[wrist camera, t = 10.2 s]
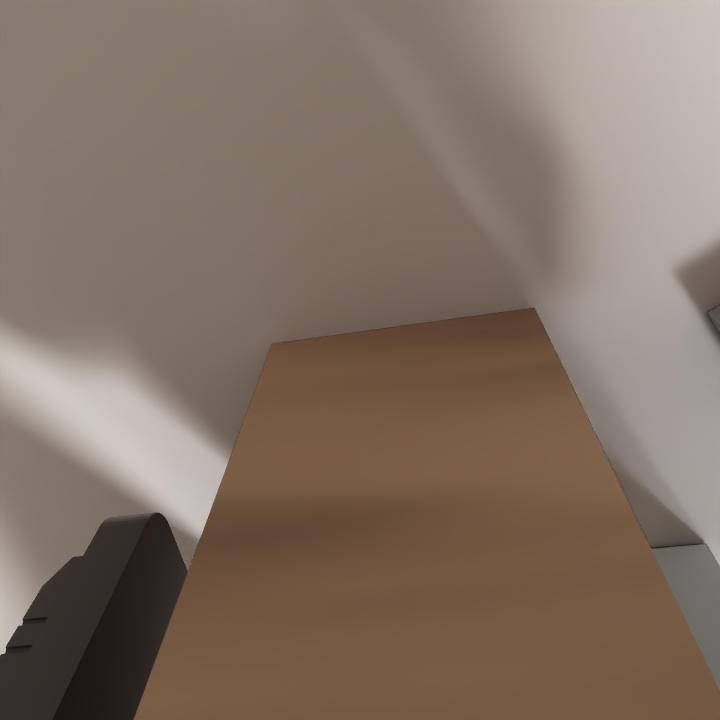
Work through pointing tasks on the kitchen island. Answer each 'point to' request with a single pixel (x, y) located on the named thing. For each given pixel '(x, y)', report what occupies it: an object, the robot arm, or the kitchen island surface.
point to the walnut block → (424, 547)
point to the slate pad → (715, 316)
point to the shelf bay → (696, 595)
